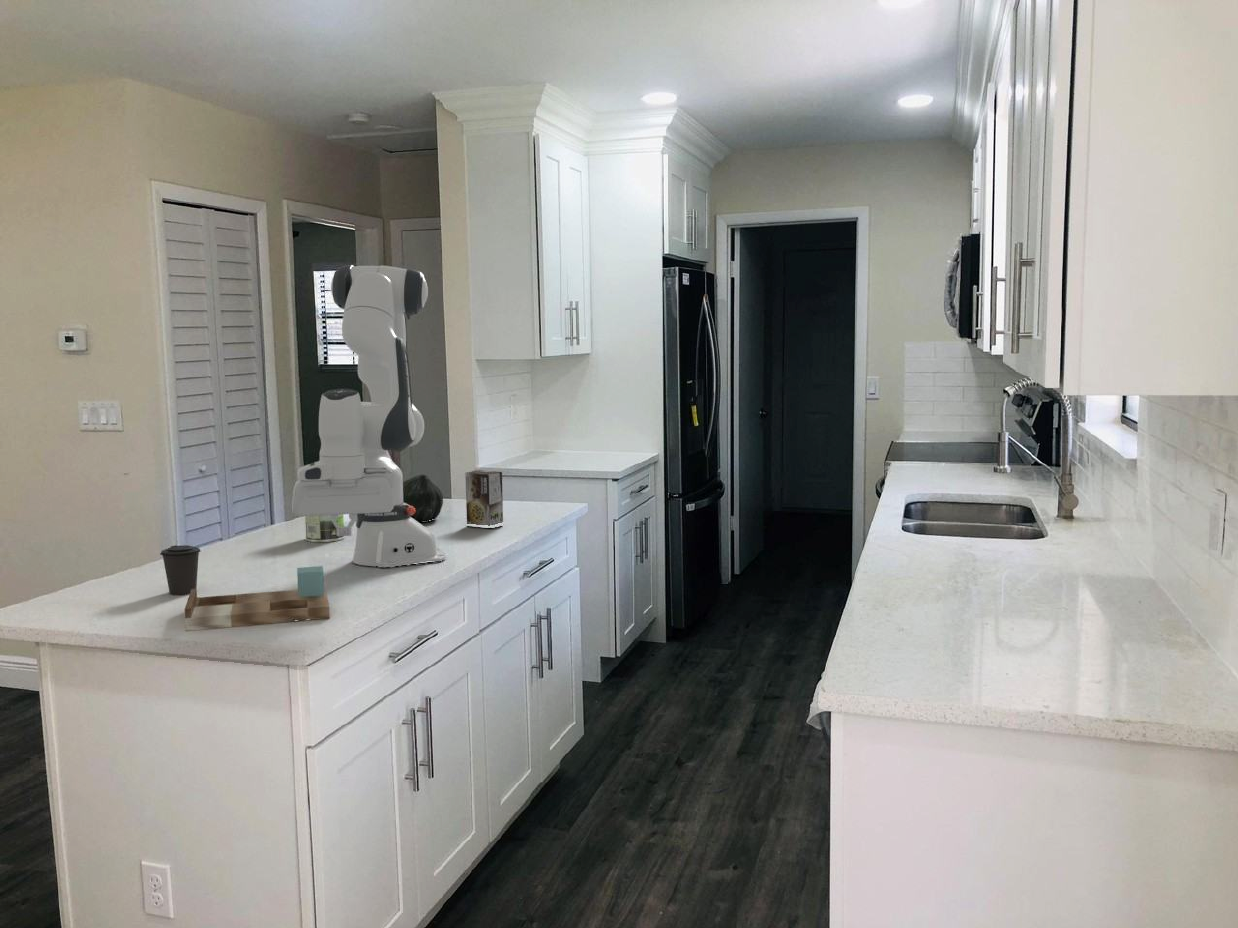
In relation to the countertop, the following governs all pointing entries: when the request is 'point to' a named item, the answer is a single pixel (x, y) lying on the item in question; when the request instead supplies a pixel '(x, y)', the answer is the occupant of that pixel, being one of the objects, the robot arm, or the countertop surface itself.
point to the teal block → (310, 581)
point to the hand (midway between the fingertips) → (344, 535)
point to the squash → (423, 497)
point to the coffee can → (322, 528)
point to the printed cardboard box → (484, 497)
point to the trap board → (252, 609)
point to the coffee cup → (181, 568)
